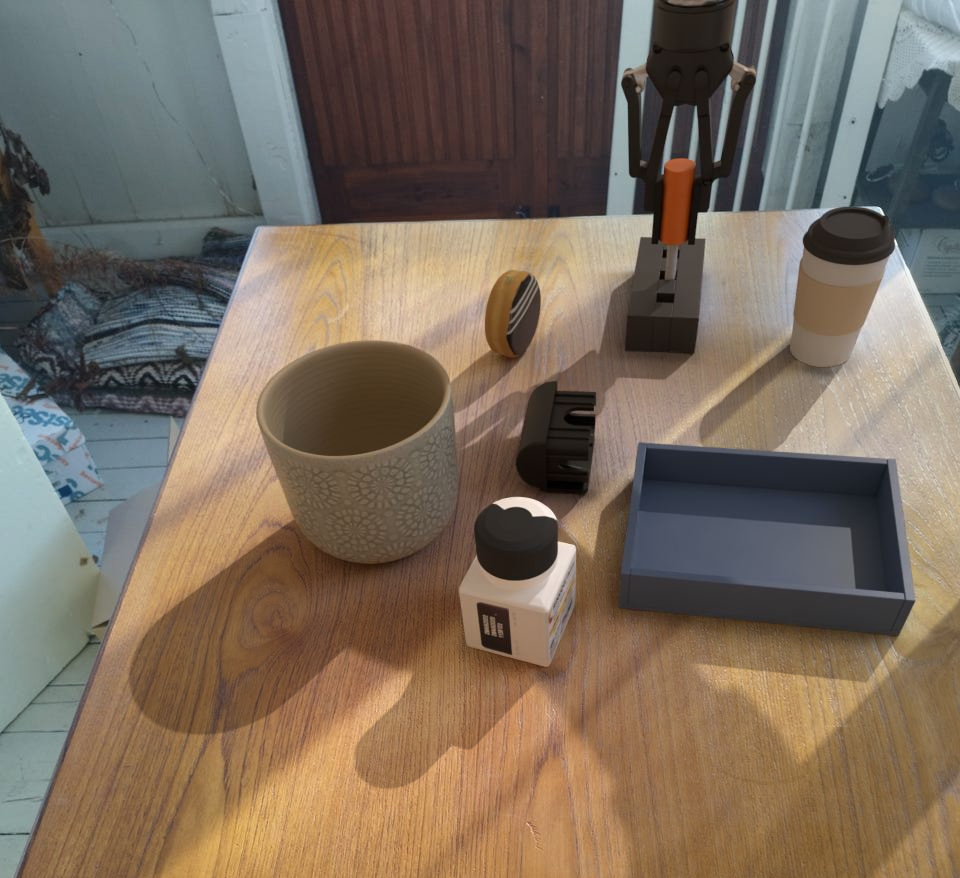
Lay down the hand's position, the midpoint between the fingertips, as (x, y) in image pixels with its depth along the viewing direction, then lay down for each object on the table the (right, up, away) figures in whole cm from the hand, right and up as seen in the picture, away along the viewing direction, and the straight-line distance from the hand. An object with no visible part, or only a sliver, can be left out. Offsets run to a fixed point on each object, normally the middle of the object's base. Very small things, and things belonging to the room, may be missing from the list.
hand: (673, 238), depth 100 cm
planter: (-32, -35, -13) cm, 49 cm away
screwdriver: (+1, -4, +5) cm, 6 cm away
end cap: (-14, -28, -9) cm, 33 cm away
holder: (+1, -6, +7) cm, 9 cm away
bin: (+3, -38, -19) cm, 42 cm away
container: (-19, -45, -22) cm, 54 cm away
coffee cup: (+17, -13, 0) cm, 21 cm away
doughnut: (-18, -12, +4) cm, 22 cm away
